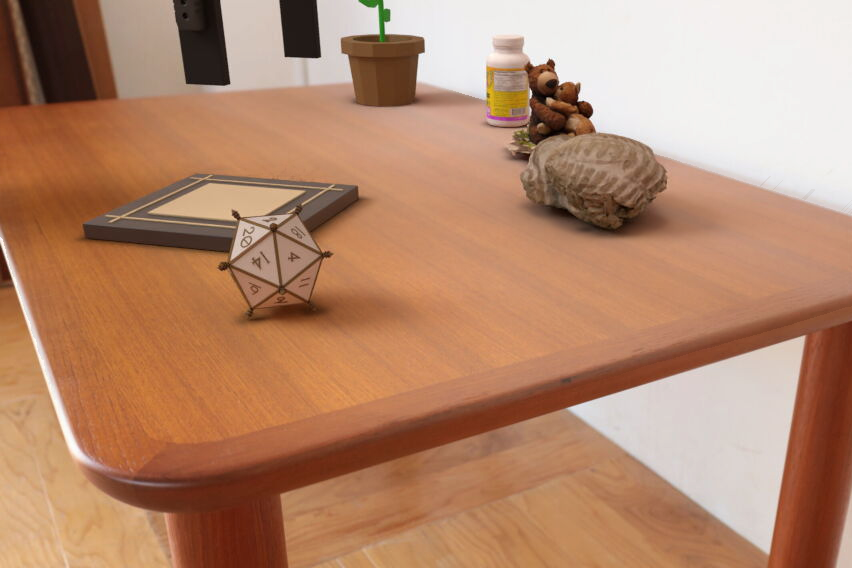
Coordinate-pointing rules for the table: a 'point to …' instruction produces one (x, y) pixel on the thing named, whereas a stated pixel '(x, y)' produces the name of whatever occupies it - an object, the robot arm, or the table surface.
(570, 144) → the fossil
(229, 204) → the game board
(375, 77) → the flowerpot
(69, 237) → the table surface
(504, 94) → the supplement bottle
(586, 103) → the bear figurine
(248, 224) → the game die
